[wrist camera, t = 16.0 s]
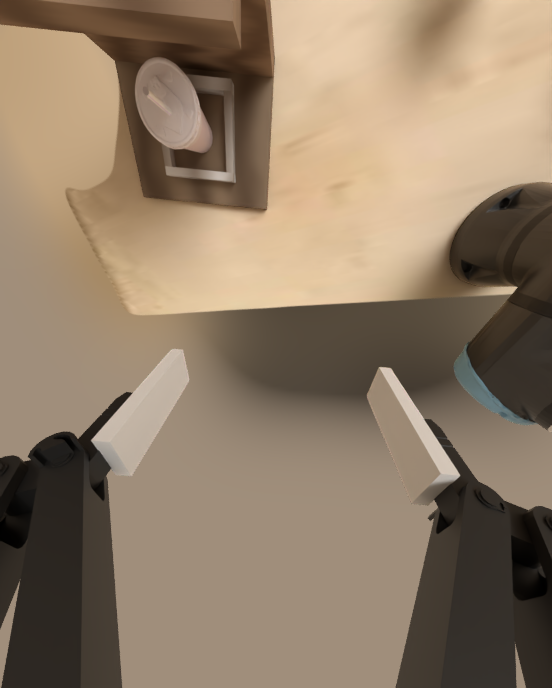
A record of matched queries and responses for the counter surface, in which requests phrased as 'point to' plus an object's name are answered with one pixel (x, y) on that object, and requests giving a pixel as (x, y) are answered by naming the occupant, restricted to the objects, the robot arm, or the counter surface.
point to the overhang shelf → (205, 75)
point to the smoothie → (171, 106)
